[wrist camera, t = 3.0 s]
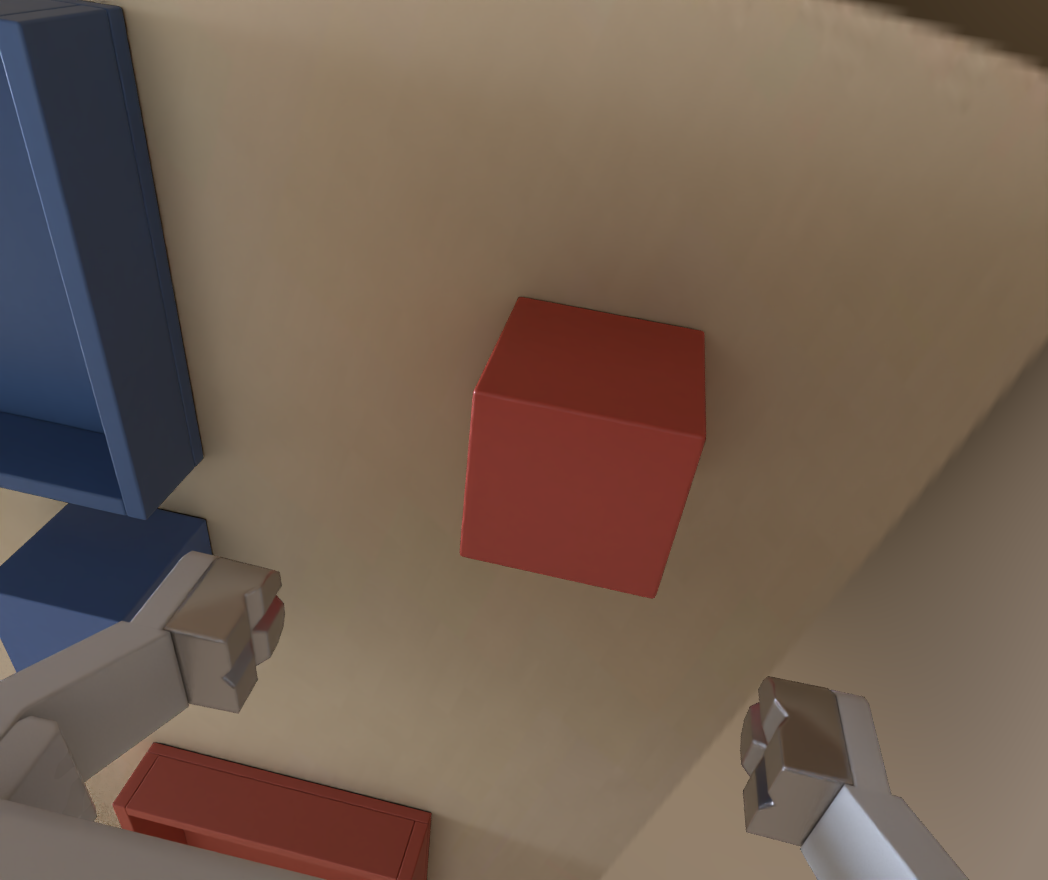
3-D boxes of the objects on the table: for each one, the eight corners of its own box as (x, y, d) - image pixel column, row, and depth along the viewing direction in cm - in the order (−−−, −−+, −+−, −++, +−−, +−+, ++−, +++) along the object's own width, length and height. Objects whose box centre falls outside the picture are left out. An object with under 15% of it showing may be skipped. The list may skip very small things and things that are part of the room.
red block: (705, 330, 17) (707, 437, 14) (663, 478, 20) (655, 601, 16) (518, 294, 18) (472, 390, 14) (501, 444, 20) (458, 557, 17)
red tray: (431, 812, 33) (410, 883, 30) (423, 927, 40) (405, 992, 37) (153, 741, 34) (111, 804, 31) (193, 865, 41) (162, 924, 39)
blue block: (205, 519, 24) (121, 622, 21) (223, 609, 27) (150, 715, 24) (80, 490, 25) (-25, 587, 21) (110, 583, 28) (20, 683, 24)
